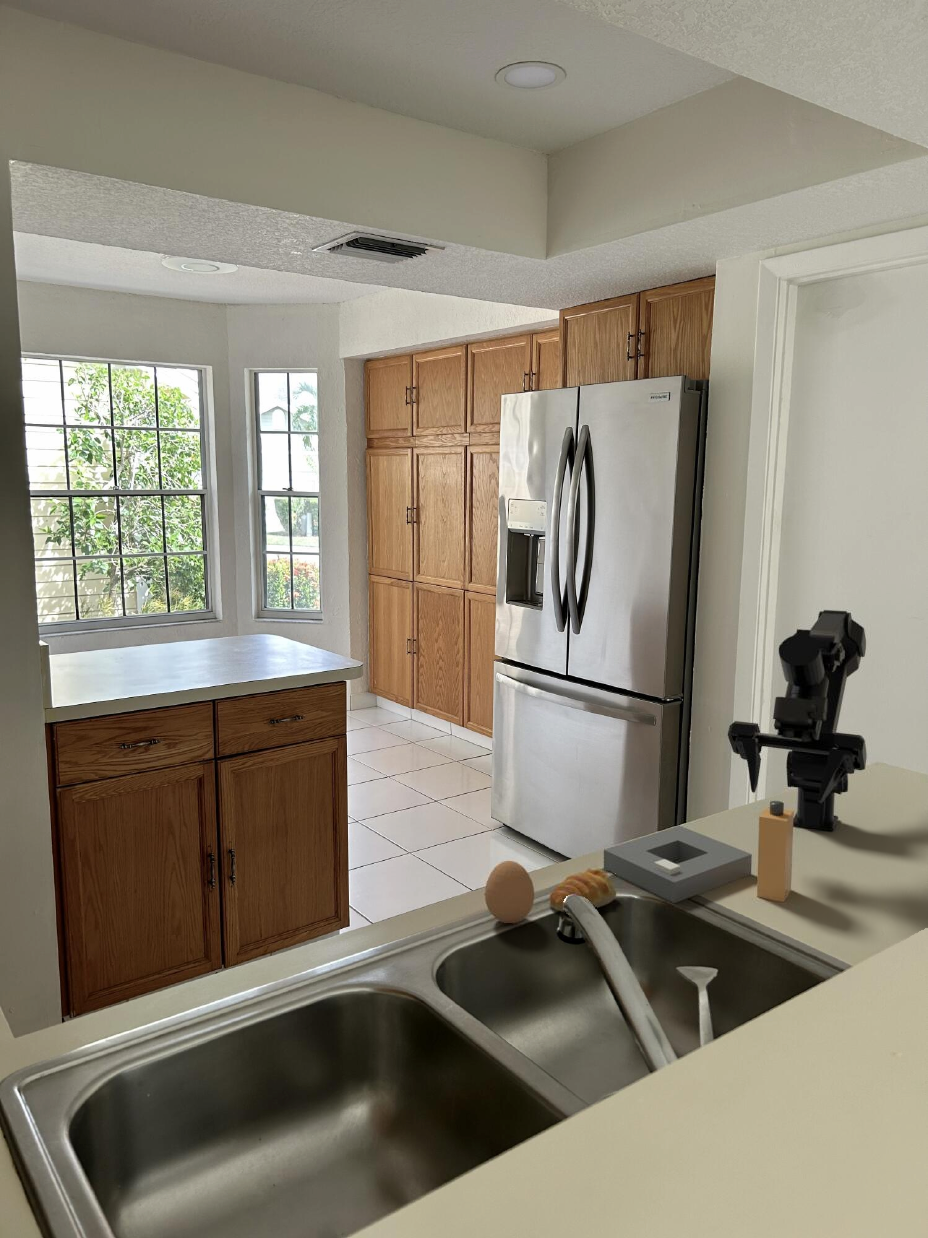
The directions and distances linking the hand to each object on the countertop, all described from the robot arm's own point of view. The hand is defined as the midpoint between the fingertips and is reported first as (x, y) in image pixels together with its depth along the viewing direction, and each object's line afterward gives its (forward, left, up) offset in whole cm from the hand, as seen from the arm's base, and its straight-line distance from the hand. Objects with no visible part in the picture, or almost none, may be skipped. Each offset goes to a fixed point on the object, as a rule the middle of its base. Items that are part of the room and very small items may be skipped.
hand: (785, 796), depth 129 cm
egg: (+30, -29, -12) cm, 43 cm away
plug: (+6, 0, -12) cm, 14 cm away
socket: (+5, -14, -12) cm, 19 cm away
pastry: (+20, -23, -13) cm, 33 cm away
